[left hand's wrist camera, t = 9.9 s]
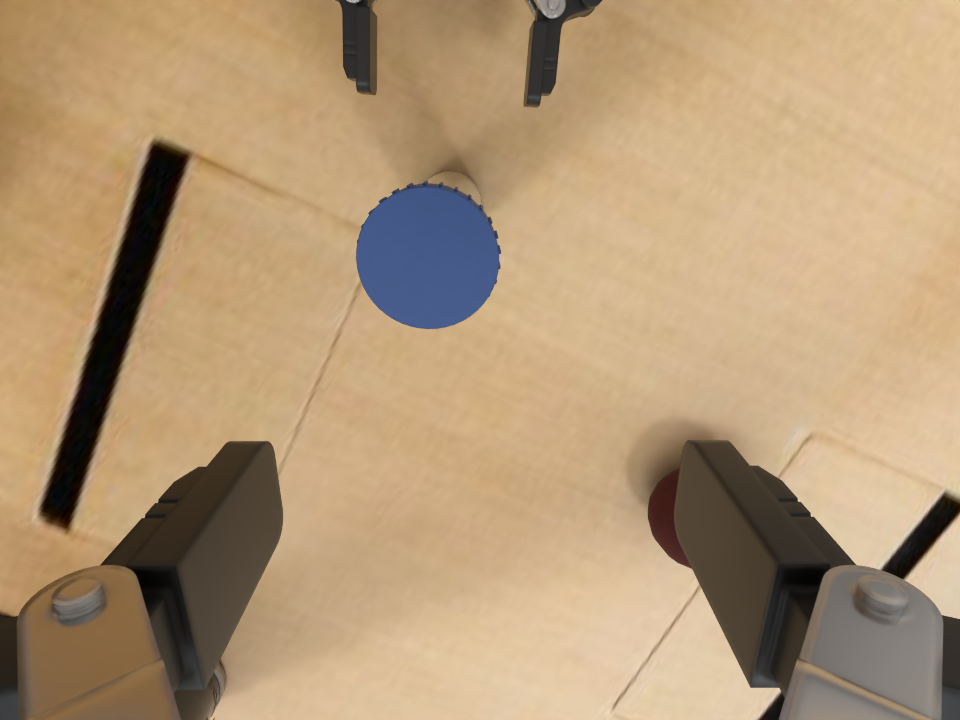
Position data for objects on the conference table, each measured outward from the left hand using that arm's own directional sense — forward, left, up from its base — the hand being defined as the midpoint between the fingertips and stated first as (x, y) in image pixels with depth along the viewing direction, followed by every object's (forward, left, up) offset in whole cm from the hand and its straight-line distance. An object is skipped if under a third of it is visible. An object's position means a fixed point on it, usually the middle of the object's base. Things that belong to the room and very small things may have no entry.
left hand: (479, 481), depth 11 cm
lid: (-2, +2, -10) cm, 10 cm away
